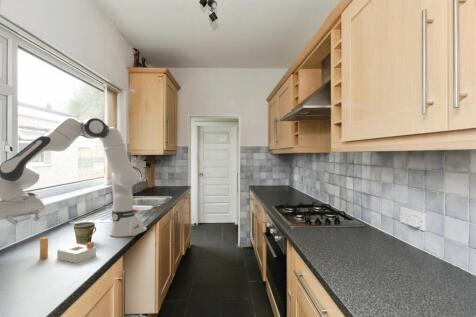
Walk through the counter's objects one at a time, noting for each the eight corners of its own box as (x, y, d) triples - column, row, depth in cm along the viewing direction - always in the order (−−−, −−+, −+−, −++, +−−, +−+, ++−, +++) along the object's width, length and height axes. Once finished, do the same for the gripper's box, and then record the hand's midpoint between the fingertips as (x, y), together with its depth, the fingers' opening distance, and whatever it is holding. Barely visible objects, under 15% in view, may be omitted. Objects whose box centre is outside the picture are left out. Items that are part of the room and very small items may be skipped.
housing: (77, 251, 133) (77, 239, 133) (95, 255, 128) (96, 242, 128) (57, 258, 124) (57, 245, 124) (76, 263, 119) (76, 249, 119)
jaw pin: (45, 256, 126) (45, 236, 126) (49, 257, 125) (49, 237, 125) (38, 258, 123) (38, 238, 123) (42, 259, 122) (42, 239, 122)
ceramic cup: (68, 244, 144) (68, 225, 144) (85, 239, 153) (85, 221, 153) (87, 247, 139) (87, 227, 139) (103, 242, 149) (103, 223, 149)
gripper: (-9, 197, 122) (4, 222, 118) (39, 192, 141) (52, 213, 137) (-15, 207, 124) (-3, 231, 120) (33, 200, 143) (45, 221, 139)
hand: (27, 222), depth 129 cm, fingers open, 8 cm apart
